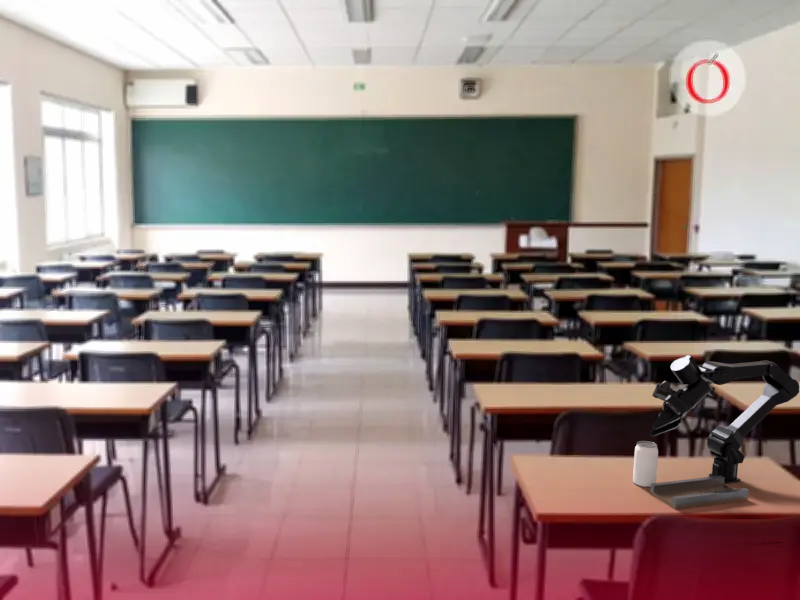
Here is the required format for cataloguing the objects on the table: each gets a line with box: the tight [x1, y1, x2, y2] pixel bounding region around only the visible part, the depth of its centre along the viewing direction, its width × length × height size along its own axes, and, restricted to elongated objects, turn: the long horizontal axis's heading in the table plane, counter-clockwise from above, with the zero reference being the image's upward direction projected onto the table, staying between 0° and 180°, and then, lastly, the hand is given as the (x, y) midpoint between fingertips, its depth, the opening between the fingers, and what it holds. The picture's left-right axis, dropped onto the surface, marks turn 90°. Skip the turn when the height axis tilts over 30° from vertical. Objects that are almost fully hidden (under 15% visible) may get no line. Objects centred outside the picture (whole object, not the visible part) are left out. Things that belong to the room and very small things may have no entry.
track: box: [649, 476, 750, 510], centre depth 210 cm, size 24×11×3 cm, turn 108°
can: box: [632, 440, 659, 488], centre depth 219 cm, size 6×6×12 cm
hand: (652, 431), depth 216 cm, fingers open, 9 cm apart
